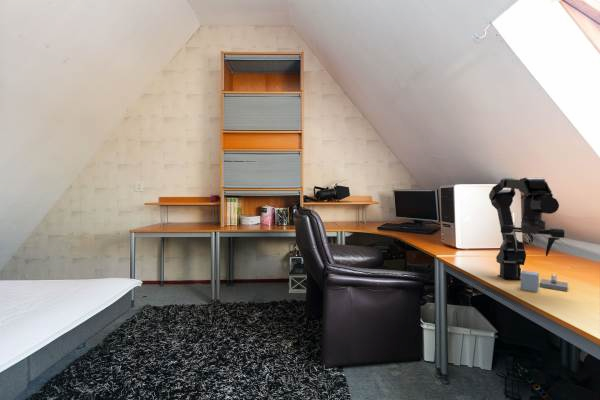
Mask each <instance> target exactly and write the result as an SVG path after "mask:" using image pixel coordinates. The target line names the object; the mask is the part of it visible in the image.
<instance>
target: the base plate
mask: <svg viewBox="0 0 600 400" xmlns="http://www.w3.org/2000/svg"><path fill="white" fill-rule="evenodd" d="M550 277H551V279H546V278H541V279H540V280H539V288H544V289H548V290H555V291H563V292H568V287H569V286H568V285H569V282H565V281H558V280H557V279H558V277H557V274H551V276H550Z"/></svg>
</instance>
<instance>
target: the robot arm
mask: <svg viewBox="0 0 600 400" xmlns="http://www.w3.org/2000/svg"><path fill="white" fill-rule="evenodd" d="M516 190H518V191H519V192H520V193H522V194H523V195H521V196H520V199H521V200H522V220H521V223H520V227H517V226H516V225H515V224H514V221H513V215H512V210H511V206H512V203H513V202H514V199H513V198H514V197H515V196H516ZM553 196H554V194H553V193H552V190H551V188H550V187H549V184H548V182H547V180H546V179H545V178H544V177H522V178H520V179H519V178H517V179H516V178H501V179H500V181H499V183H497V184H495V185H494V186H493V187H492V188H491V190H490V191H489V194H488V197H489V200H490V203H491V206H492V207H493V208H494V209H496V211H497V216H498V221H499V227H500V233H501V237H502V243H501V245H500V247H499V252H498V253H497V254H496V257H495V259H496V263H498V264H499V274H497V276H498V277H499V278H501V279H503V280H505V281H521V272H522V268H521V266H524V265H525V263H526V258H527V253H526V250H525V245H524V243H523V241H519V240H518V239H517V233H522V234H532V235H538V234H540V235H549V236H548V239H547V243H546V250H545V256H546V257H548V255H549V252H550V250H551V248H552V246H553V244H554V243H555V242H556V241H557V240H558V241H559V240H560V238H562V239H565V238H566V237H565V234H566V230H565V229H564V228H562V227H561V228H560V227H550V228H548V229H546V224H547V223H546V220H543V214H547V215H551V214H554V213H556V212H557V211H558V210H559V207H560V203H559V201H558V199H557V198H555V197H553Z"/></svg>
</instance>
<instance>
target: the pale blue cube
mask: <svg viewBox="0 0 600 400" xmlns="http://www.w3.org/2000/svg"><path fill="white" fill-rule="evenodd" d="M520 279H521V280H520V290H525V291H529V292H534V293H538V292H539V288H540V272H537V271H530V270H529V271H528V270H521V278H520Z"/></svg>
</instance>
